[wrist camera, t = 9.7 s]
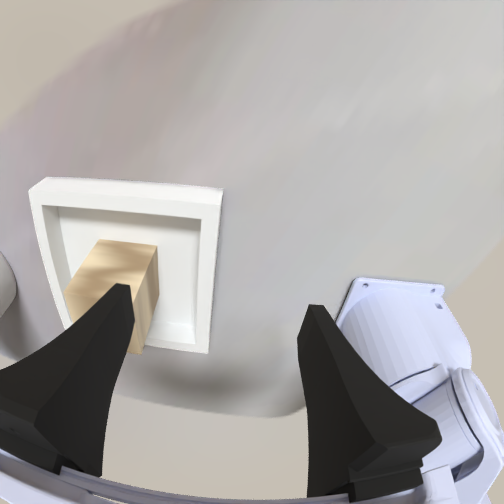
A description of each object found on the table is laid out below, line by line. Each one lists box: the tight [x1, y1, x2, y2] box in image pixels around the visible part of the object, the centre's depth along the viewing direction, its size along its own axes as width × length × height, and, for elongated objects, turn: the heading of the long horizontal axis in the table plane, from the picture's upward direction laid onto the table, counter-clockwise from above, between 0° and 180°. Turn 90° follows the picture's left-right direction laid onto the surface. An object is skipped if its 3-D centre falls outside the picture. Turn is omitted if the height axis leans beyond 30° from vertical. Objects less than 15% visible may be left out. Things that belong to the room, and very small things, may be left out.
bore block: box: [63, 239, 160, 355], centre depth 19 cm, size 4×4×6 cm
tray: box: [28, 177, 224, 354], centre depth 21 cm, size 13×13×2 cm
